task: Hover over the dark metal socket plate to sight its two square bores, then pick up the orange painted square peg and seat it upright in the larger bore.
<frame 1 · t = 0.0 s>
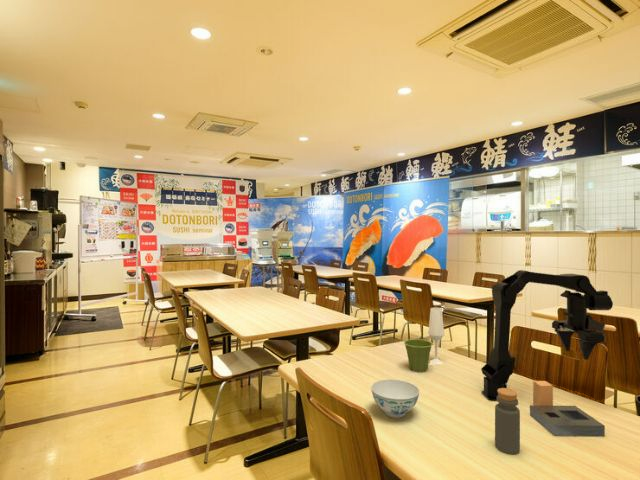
hand: (576, 355, 126), 15 cm above the table, fingers open, 9 cm apart
socket plate: (565, 425, 107), on the table
champagne flute: (436, 363, 160), on the table
plant pot: (418, 369, 153), on the table
peg: (542, 407, 118), on the table
chinaware: (394, 413, 115), on the table
bottle: (507, 448, 95), on the table
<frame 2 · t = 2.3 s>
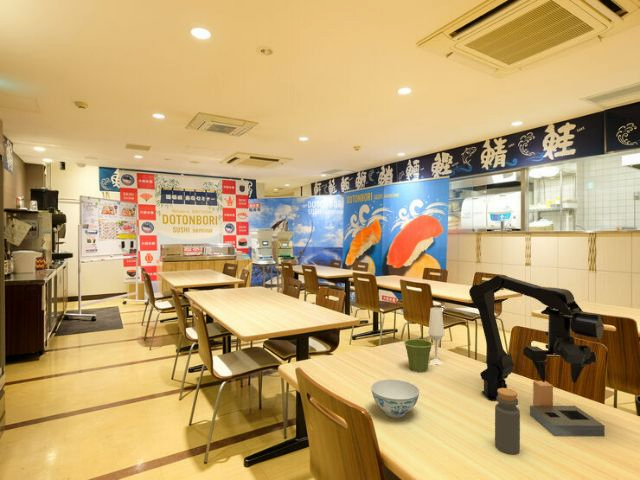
hand: (558, 381, 110), 12 cm above the table, fingers open, 9 cm apart
nothing on the table moved.
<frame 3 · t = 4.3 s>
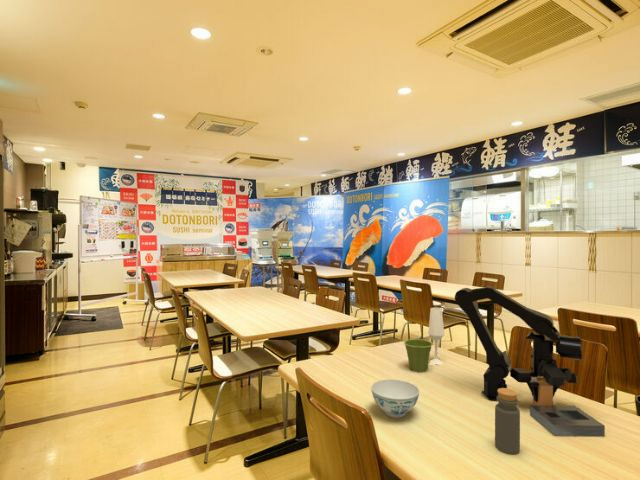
hand: (542, 401, 118), 2 cm above the table, fingers closed on peg, 4 cm apart
peg: (542, 407, 118), on the table, touching gripper
everything else where it was.
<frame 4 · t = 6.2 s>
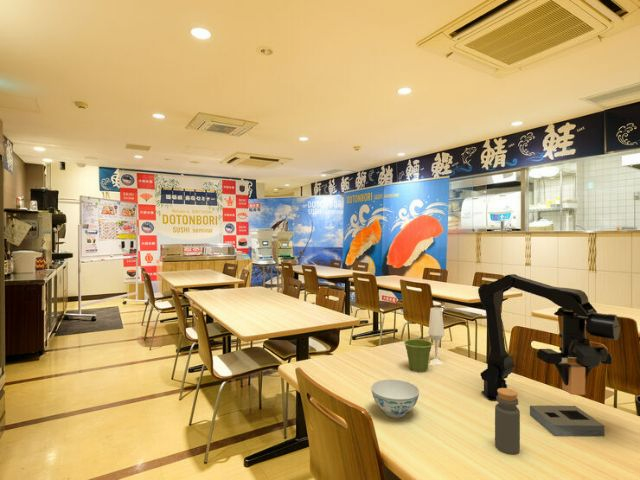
hand: (573, 384, 107), 12 cm above the table, fingers closed on peg, 4 cm apart
peg: (573, 391, 107), point 10 cm above the table, touching gripper
everything else where it was.
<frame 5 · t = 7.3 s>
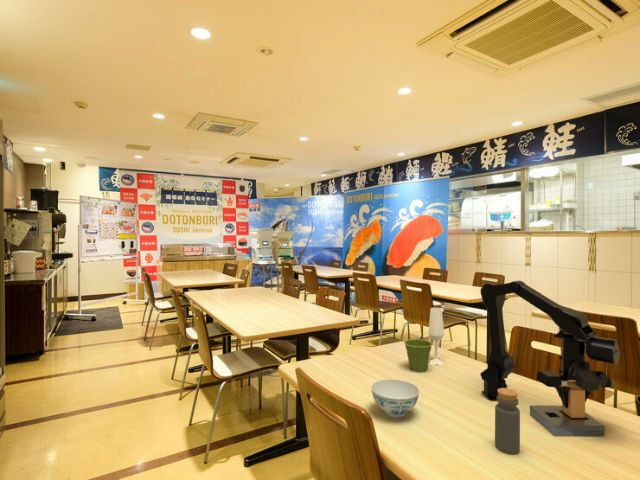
hand: (573, 407, 107), 5 cm above the table, fingers closed on peg, 4 cm apart
peg: (573, 414, 107), point 3 cm above the table, touching gripper
everything else where it was.
when the fingers open (3 cm above the table, at t = 8.0 s): peg drops 2 cm, resting in socket plate.
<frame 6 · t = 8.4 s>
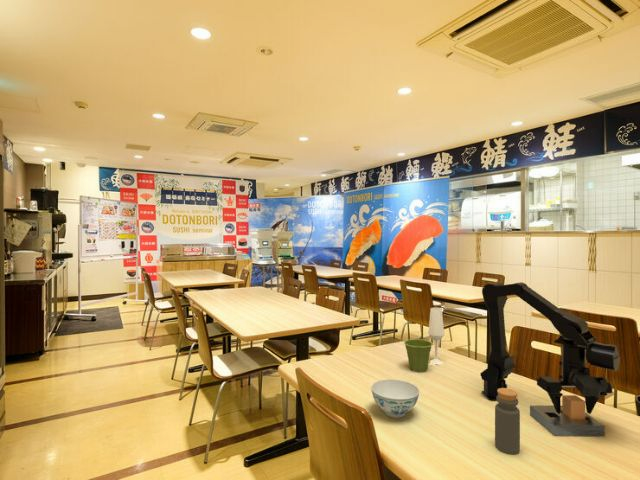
hand: (573, 413, 107), 3 cm above the table, fingers open, 9 cm apart
peg: (573, 425, 107), resting in socket plate
everything else where it was.
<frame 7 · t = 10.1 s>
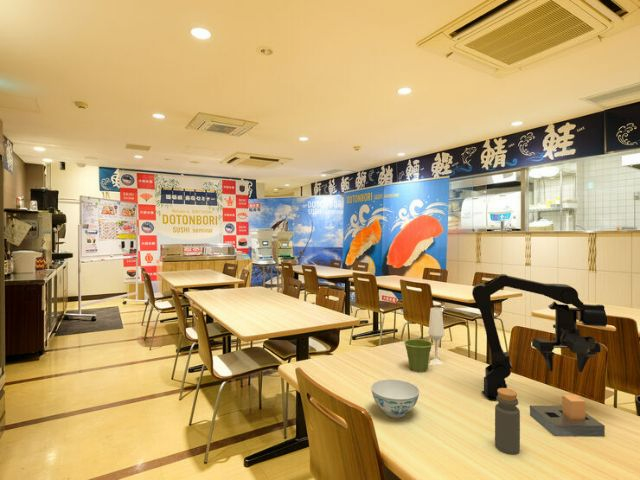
hand: (565, 371, 118), 12 cm above the table, fingers open, 9 cm apart
nothing on the table moved.
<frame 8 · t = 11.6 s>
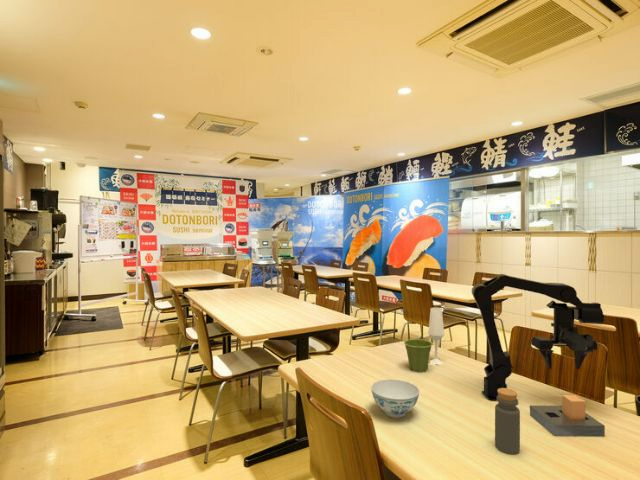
hand: (563, 368, 120), 12 cm above the table, fingers open, 9 cm apart
nothing on the table moved.
at the end: peg 0.1 cm from the target spot on the socket plate, point 0.0 cm above the socket plate's base; peg tilted 0°; the gripper is holding nothing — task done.
